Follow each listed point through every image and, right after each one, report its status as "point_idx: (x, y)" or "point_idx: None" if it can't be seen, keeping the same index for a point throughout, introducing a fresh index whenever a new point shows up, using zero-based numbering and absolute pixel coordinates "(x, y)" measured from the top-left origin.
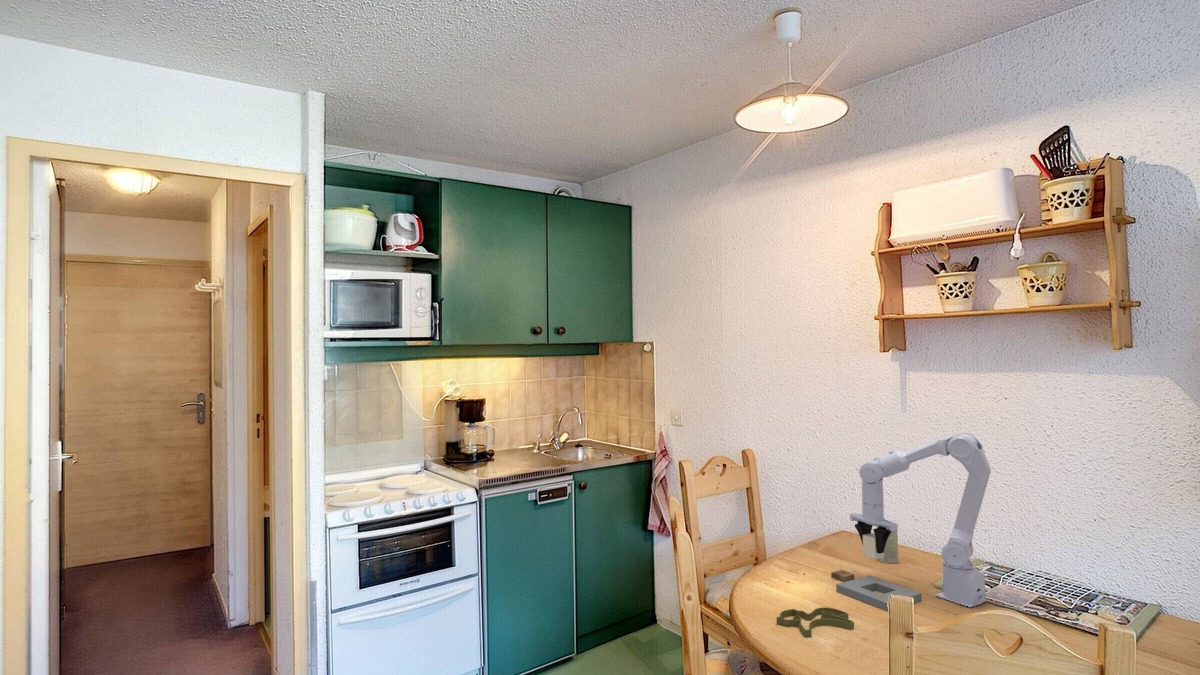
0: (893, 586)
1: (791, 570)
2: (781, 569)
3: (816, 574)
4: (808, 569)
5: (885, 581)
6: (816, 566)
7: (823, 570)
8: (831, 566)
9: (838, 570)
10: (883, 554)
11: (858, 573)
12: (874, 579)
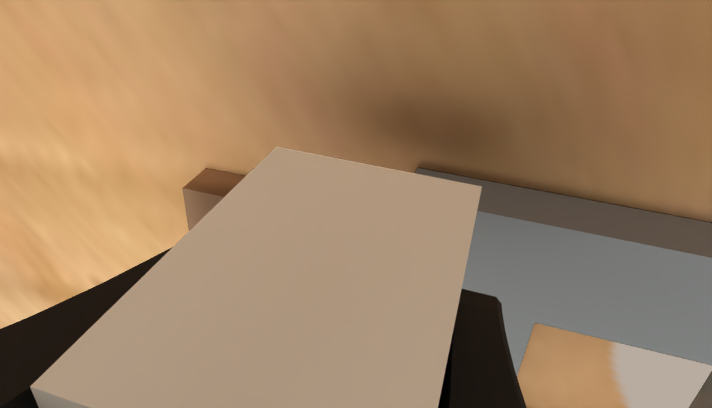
0: (704, 314)
1: (49, 290)
2: (26, 307)
3: (138, 262)
4: (53, 217)
5: (586, 241)
6: (13, 130)
7: (90, 168)
8: (31, 43)
9: (187, 219)
10: (472, 221)
11: (226, 22)
12: (488, 256)
